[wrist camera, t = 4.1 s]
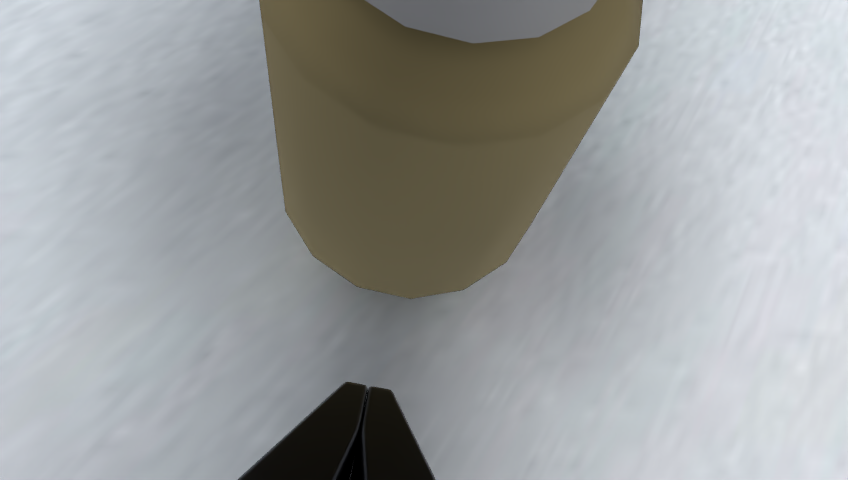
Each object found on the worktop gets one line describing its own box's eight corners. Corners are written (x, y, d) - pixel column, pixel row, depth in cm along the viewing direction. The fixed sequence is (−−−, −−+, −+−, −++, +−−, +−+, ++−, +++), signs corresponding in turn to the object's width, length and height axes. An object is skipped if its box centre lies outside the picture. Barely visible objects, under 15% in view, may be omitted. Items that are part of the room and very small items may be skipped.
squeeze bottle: (254, 261, 19) (-1066, -1368, 1) (351, 83, 21) (299, -1298, 4) (463, 353, 18) (1777, -208, 1) (537, 164, 21) (1324, -893, 4)
